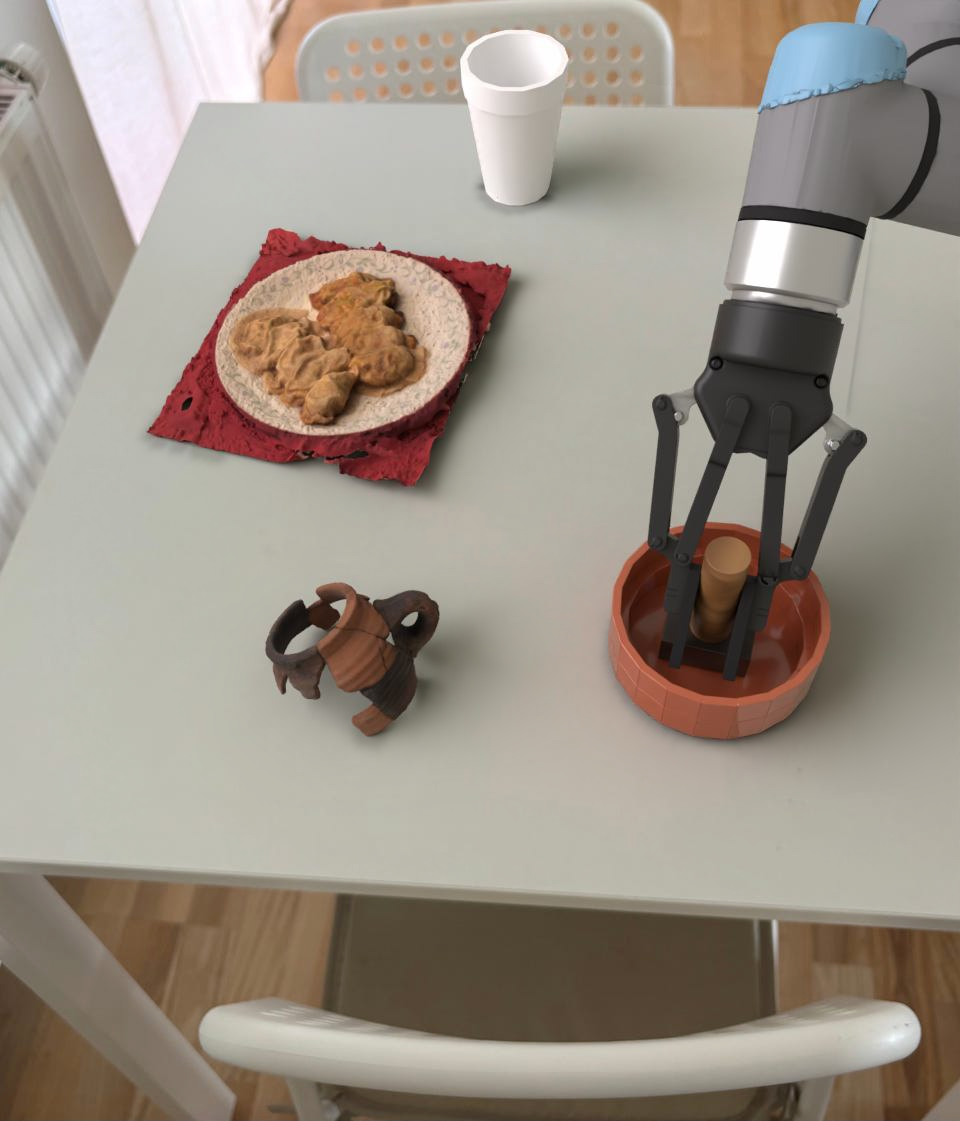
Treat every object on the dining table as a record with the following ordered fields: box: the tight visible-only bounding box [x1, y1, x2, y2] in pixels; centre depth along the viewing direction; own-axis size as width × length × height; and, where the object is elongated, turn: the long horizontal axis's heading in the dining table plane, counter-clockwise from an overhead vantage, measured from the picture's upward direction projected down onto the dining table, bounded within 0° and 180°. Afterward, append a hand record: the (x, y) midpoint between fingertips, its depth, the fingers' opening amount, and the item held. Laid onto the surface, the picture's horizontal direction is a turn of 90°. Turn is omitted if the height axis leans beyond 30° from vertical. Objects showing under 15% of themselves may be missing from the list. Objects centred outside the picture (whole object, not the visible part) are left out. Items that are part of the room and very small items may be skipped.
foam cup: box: [459, 29, 570, 207], centre depth 102 cm, size 10×9×13 cm
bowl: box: [607, 521, 832, 740], centre depth 75 cm, size 14×14×6 cm
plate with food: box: [146, 227, 512, 488], centre depth 94 cm, size 24×26×4 cm
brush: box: [658, 537, 756, 677], centre depth 72 cm, size 6×4×11 cm, turn 74°
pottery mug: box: [264, 581, 441, 737], centre depth 76 cm, size 12×10×8 cm
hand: (702, 668), depth 72 cm, fingers closed on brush, 3 cm apart
